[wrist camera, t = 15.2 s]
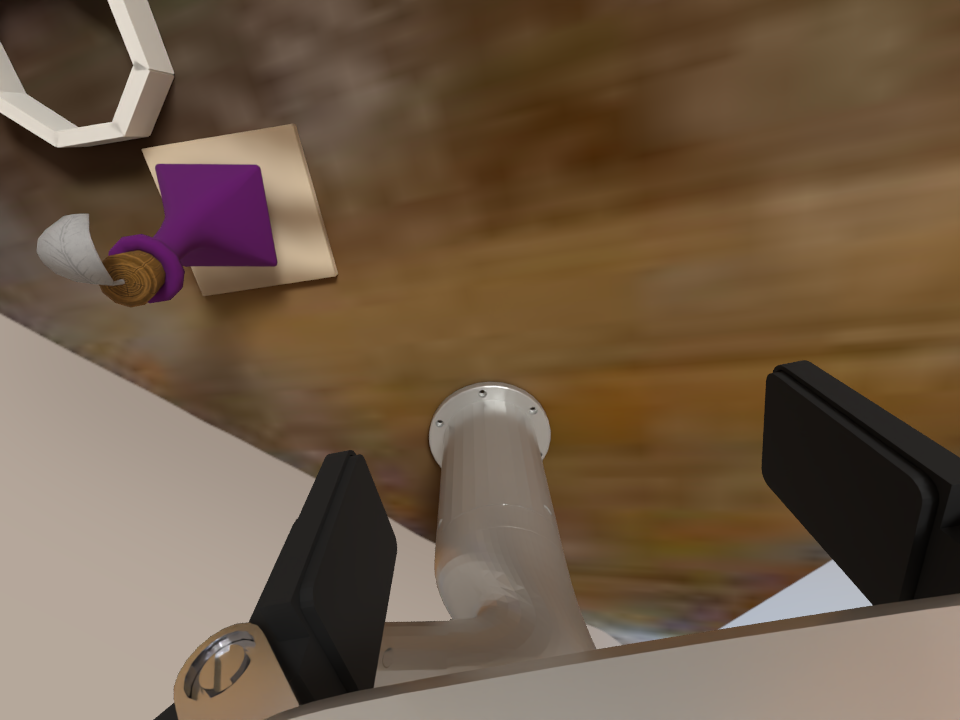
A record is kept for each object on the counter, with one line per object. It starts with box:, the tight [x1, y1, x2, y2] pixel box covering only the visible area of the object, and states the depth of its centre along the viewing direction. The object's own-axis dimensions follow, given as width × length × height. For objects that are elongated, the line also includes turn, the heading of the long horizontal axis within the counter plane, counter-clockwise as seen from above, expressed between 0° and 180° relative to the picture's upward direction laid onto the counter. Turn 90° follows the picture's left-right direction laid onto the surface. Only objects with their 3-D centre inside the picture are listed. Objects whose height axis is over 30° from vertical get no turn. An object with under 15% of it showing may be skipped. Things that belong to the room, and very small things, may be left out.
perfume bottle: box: [37, 164, 278, 307], centre depth 30 cm, size 8×8×18 cm
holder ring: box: [0, 0, 174, 148], centre depth 32 cm, size 12×12×3 cm
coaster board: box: [141, 124, 338, 296], centre depth 39 cm, size 12×12×1 cm
